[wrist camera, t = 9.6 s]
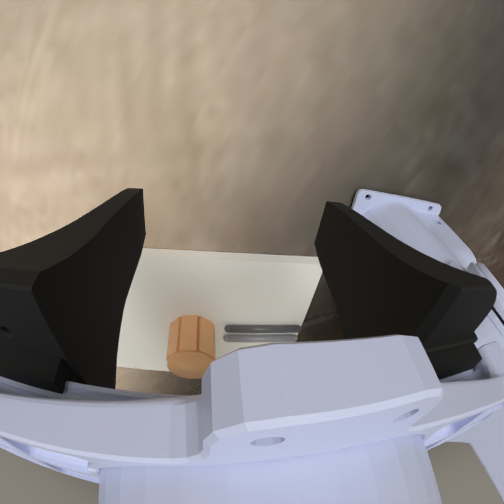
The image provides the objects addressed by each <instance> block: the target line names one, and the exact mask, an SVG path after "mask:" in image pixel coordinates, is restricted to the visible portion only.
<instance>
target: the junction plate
mask: <svg viewBox="0 0 504 504" xmlns="http://www.w3.org/2000/svg"><path fill="white" fill-rule="evenodd" d="M321 274H322V269H321V266H320V263H319V260H318V257H307V256H287V255H268V254H248V253H229V252H209V251H190V250H171V249H152V248H143V249H142V254H141V257H140V260H139V263H138V266H137V269H136V272H135V275H134V277H133V280H132V283H131V286H130V289H129V293H128V296H127V299H126V303H125V307H124V311H123V317H122V323H121V329H120V337H119V345H118V353H117V366H119V367H128V368H137V369H147V370H159V371H169V369H168V367H167V359H166V357H167V347H168V337H169V328H170V323H171V322H173V321H174V320H175V319H176V318H178V317H179V316H180V317H182V315H198V317H199V316H202V317H204V318H206V319H208V320H210V321H211V322H213V324H214V328H215V347H216V359H218V358H220V357H222V356H224V355H226V354H228V353H230V352H232V351H234V350H236V349H238V348H241V347H248V346H255V345H261V344H267V343H282V342H295V341H297V339H298V337H297V335H298V333H299V332H300V331H301V325H302V323H303V321H304V318H305V316H306V313H307V311H308V308H309V306H310V303H311V300H312V298H313V295H314V293H315V290H316V287H317V285H318V282H319V280H320V277H321Z"/></svg>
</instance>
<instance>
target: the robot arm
mask: <svg viewBox="0 0 504 504" xmlns="http://www.w3.org/2000/svg"><path fill="white" fill-rule="evenodd" d="M366 195H369V196H368V197H367V198H365V197H366ZM429 207H430V208H429ZM440 211H441V206H440V205H439V204H437V203H433V202H429V201H424V200H419V199H414V198H409V197H404V196H399V195H394V194H389V193H383V192H378V191H372V190H366V189H360V190H358V191H357V192H356V194H355V197H354V200H353V204H352V207H351V208H350V207H348V206H346V205H344V204H342V203H337V202H329V201H327V202H326V205H325V209H324V212H323V216H322V219H321V223H320V226H319V229H318V233H317V236H316V239H315V247H316V252H317V256H318V260H319V263H320V266H321V269H322V271H323V274H324V276H325V279H326V281H327V284H328V286H329V289H330V291H331V294H332V296H333V299H334V301H335V304H336V307H337V310H338V313H339V317H340V321H341V325H342V329H343V334H344V339H342V340H328V341H309V342H282V343H267V344H261V345H255V346H248V347H241V348H238V349H236V350H234V351H232V352H230V353H228V354H226V355H224V356H222V357H220V358H218V359H216V360H214V361H213V362H211V363H210V365H209V367H208V368H207V370H206V372H205V373H204V375H203V377H202V394H201V395H193V396H183V395H166V394H154V393H143V392H134V391H126V390H118V389H115V384H116V366H117V353H118V345H119V337H120V329H121V323H122V317H123V311H124V307H125V303H126V299H127V296H128V293H129V289H130V286H131V283H132V280H133V277H134V275H135V272H136V269H137V266H138V263H139V260H140V257H141V254H142V249H143V245H144V240H145V235H146V232H145V219H144V203H143V189H135V188H128V189H125V190H123V191H121V192H120V193H118V194H117V195H115V196H113V197H112V198H110V199H109V200H107V201H106V202H104V203H103V204H101V205H100V206H98V207H97V208H95V209H93V210H92V211H90V212H89V213H87V214H85V215H84V216H82V217H81V218H79V219H77V220H76V221H74V222H72V223H70V224H68V225H66V226H65V227H63V228H61V229H59V230H57V231H55V232H53V233H50V234H48V235H46V236H44V237H41V238H39V239H37V240H35V241H32V242H30V243H27V244H24V245H22V246H19V247H16V248H13V249H10V250H7V251H4V252H0V447H1V448H3V449H5V450H7V451H9V452H11V453H13V454H15V455H18V456H20V457H22V458H25V459H27V460H29V461H32V462H34V463H37V464H39V465H42V466H44V467H47V468H50V469H53V470H55V471H58V472H61V473H64V474H67V475H71V476H74V477H77V478H81V479H85V480H88V481H92V482H95V483H99V504H442V502H441V498H440V494H439V490H438V487H437V483H436V479H435V476H434V473H433V469H432V466H431V463H430V459H429V456H428V453H427V450H429V449H431V448H433V447H436V446H438V445H440V444H442V443H443V442H466V443H469V444H470V445H471V447H472V449H473V450H474V452H475V453H476V455H477V457H478V458H479V460H480V462H481V463H482V465H483V467H484V468H485V470H486V472H487V474H488V475H489V477H490V479H491V481H492V482H493V484H494V486H495V488H496V489H497V491H498V493H499V495H500V497H501V499H502V501H503V503H504V289H503V288H502V286H501V285H500V284H499V283H498V281H497V280H496V279H495V278H494V276H493V275H492V274H491V273H490V271H489V270H488V269H487V268H486V266H485V265H484V264H483V263H477V262H476V259H475V257H474V255H473V253H472V252H471V250H470V249H469V248H468V247H467V246H466V245H465V244H464V242H463V241H462V240H461V239H460V238H459V237H458V236H457V235H456V234H455V233H454V232H453V231H452V230H451V228H450V227H449V226H448V225H447V224H446V223H445V222H444V221H443V220H442V219H441V218H440V217H439V216H438V215H439V213H440Z"/></svg>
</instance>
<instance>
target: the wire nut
mask: <svg viewBox="0 0 504 504" xmlns="http://www.w3.org/2000/svg"><path fill="white" fill-rule="evenodd" d="M166 359H167V367H168V369H169V371H170V372H172V373H173V374H175V375H177V376H179V377H183V378H188V379H199V378H202V377H203V375H204V373H205V372H206V370H207V368H208V367H209V365H210V363H211V362H213V361H214V360H216V347H215V328H214V324H213V322H211V321H210V320H208V319H206V318H204V317H202V316H199V317H198V315H182V317H180V316H179V317H178V318H176V319H175V320H174V321H173V322H171V323H170V328H169V337H168V347H167V357H166Z"/></svg>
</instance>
